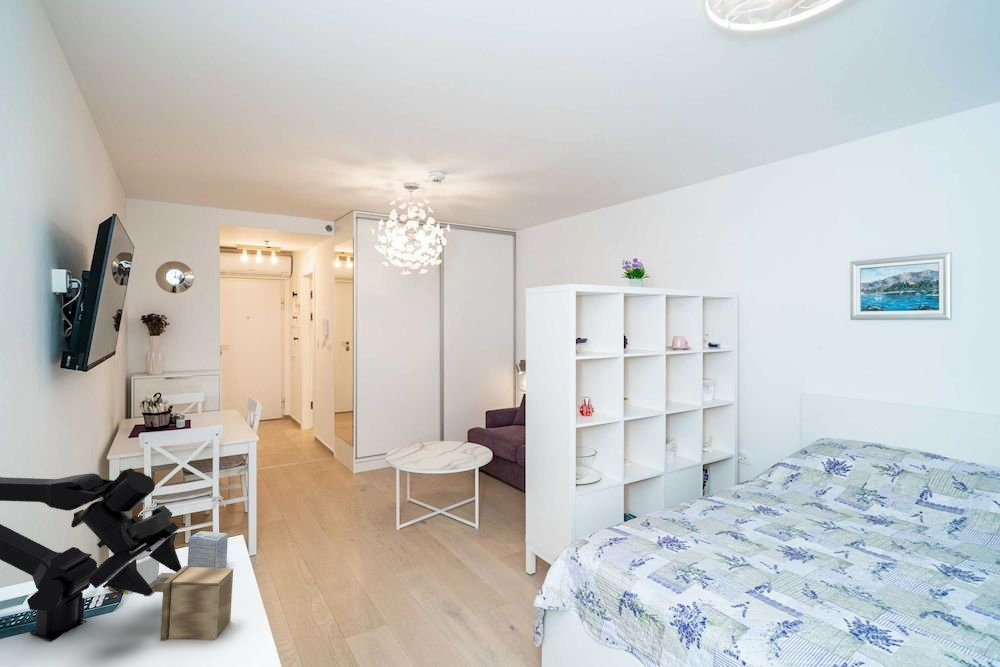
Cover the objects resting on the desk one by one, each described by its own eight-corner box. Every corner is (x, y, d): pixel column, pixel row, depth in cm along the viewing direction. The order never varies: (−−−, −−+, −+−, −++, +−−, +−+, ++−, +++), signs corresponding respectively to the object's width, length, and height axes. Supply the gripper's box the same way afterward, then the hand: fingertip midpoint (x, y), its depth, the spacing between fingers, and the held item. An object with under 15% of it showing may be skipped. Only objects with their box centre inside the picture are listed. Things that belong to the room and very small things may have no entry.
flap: (138, 639, 96) (141, 582, 96) (161, 618, 102) (164, 565, 102) (165, 640, 96) (168, 582, 96) (186, 619, 103) (189, 565, 103)
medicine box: (227, 565, 127) (228, 533, 127) (215, 574, 123) (217, 540, 123) (199, 562, 128) (200, 530, 128) (186, 571, 123) (188, 537, 123)
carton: (168, 641, 96) (171, 581, 96) (186, 623, 102) (189, 567, 102) (214, 643, 97) (218, 583, 97) (230, 624, 103) (233, 568, 103)
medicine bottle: (107, 589, 113) (110, 538, 113) (139, 575, 120) (141, 527, 120) (127, 597, 111) (130, 544, 111) (158, 582, 117) (161, 533, 117)
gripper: (108, 516, 90) (166, 578, 90) (172, 484, 108) (220, 535, 109) (62, 557, 89) (120, 619, 90) (134, 518, 108) (182, 569, 108)
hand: (165, 581), depth 99 cm, fingers open, 9 cm apart
